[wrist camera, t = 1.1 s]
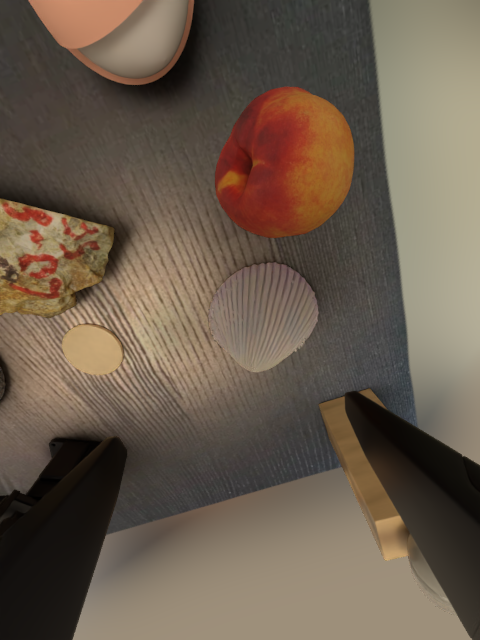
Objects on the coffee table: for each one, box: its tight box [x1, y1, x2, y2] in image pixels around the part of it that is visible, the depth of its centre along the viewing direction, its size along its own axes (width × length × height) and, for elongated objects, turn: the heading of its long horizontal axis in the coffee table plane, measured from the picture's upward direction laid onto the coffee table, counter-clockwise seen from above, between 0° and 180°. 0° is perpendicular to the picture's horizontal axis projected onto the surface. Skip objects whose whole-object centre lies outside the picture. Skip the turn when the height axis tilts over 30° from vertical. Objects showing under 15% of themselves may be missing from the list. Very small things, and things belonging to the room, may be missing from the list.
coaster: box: [62, 324, 124, 375], centre depth 23 cm, size 6×6×1 cm
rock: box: [0, 198, 115, 318], centre depth 17 cm, size 12×9×10 cm
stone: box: [407, 533, 458, 616], centre depth 16 cm, size 6×4×4 cm, turn 21°
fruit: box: [215, 87, 354, 238], centre depth 14 cm, size 8×8×8 cm
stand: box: [319, 388, 409, 561], centre depth 23 cm, size 6×6×12 cm
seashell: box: [208, 262, 319, 372], centre depth 21 cm, size 10×6×10 cm
